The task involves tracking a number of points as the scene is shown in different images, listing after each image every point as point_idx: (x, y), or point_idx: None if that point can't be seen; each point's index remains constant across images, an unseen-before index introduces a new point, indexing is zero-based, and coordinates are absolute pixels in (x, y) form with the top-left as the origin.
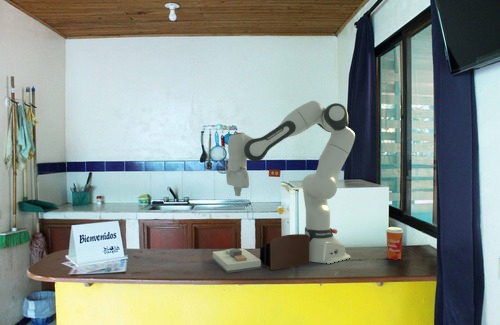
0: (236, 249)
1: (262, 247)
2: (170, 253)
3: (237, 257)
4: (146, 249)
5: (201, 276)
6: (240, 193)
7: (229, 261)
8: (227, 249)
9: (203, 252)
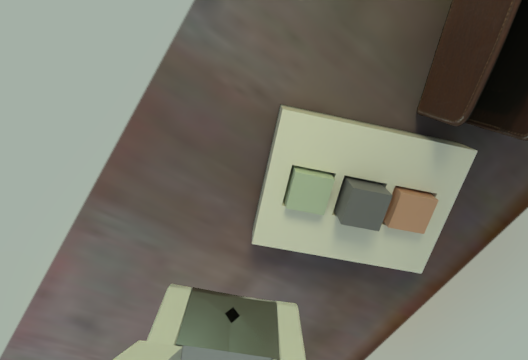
0: (358, 202)
1: (468, 117)
2: (103, 309)
3: (411, 228)
4: (16, 350)
5: (376, 320)
6: (302, 339)
7: (398, 252)
8: (290, 203)
9: (146, 215)
